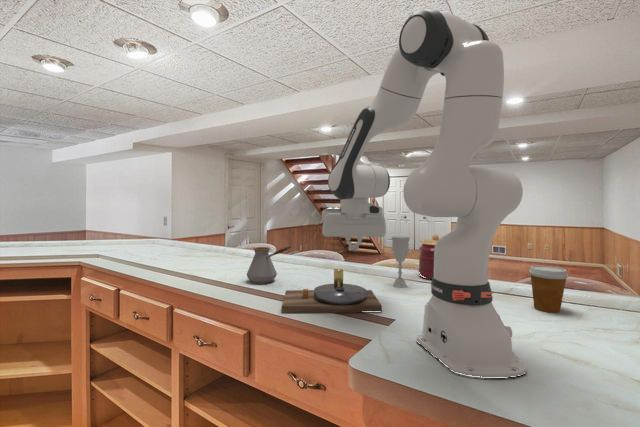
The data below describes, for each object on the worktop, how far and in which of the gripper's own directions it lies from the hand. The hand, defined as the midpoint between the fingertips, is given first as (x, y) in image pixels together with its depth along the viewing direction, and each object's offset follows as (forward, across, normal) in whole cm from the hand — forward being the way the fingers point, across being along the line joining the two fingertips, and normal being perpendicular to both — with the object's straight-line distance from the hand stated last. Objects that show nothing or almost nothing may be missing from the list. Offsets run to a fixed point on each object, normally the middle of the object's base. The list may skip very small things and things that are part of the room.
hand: (353, 250), depth 108 cm
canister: (+16, +37, +27) cm, 49 cm away
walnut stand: (+15, -8, -7) cm, 18 cm away
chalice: (+16, +19, +14) cm, 29 cm away
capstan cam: (+13, -5, -7) cm, 16 cm away
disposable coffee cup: (+15, +55, -13) cm, 59 cm away
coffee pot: (+16, -29, +18) cm, 38 cm away
